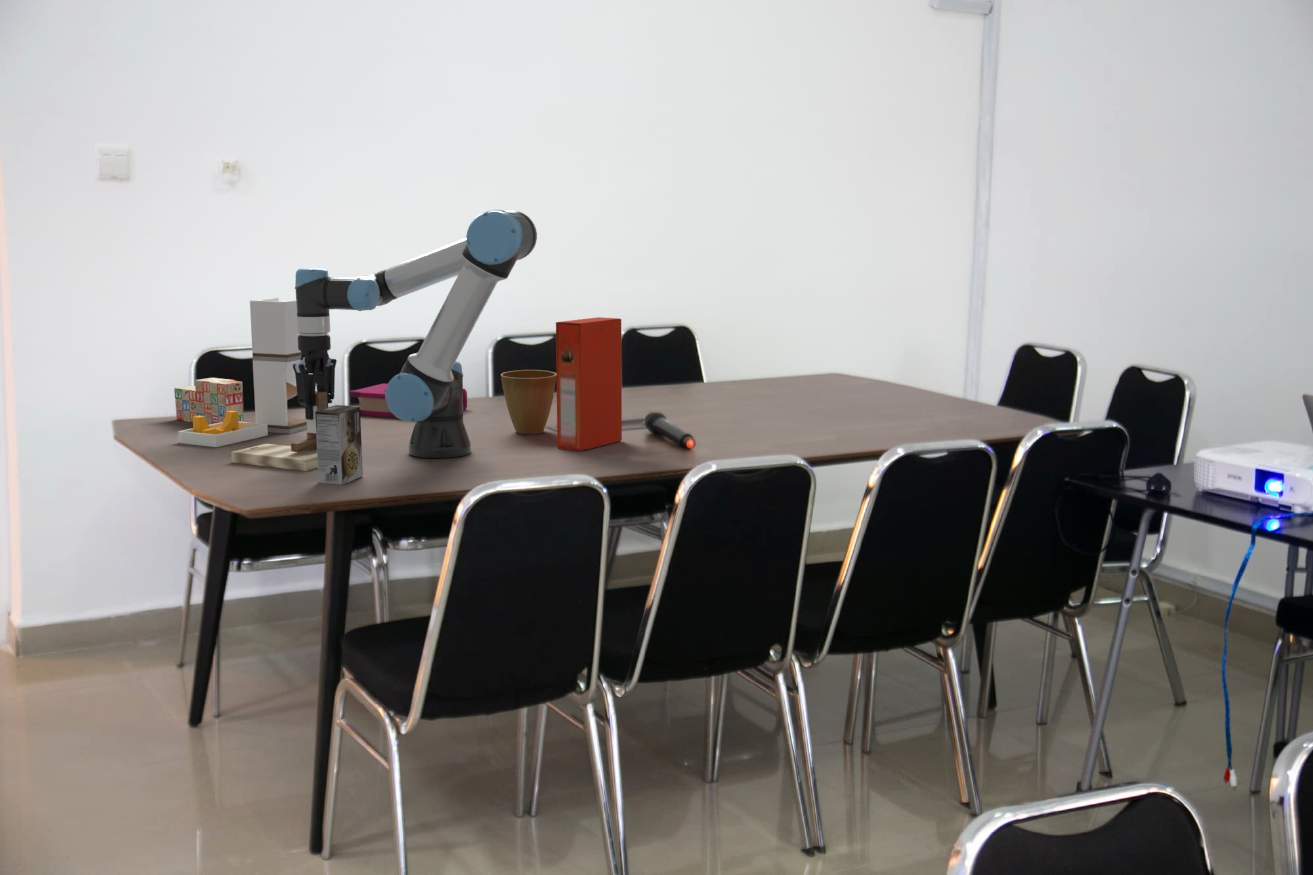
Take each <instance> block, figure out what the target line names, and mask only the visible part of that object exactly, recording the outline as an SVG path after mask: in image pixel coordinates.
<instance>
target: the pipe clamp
mask: <svg viewBox="0 0 1313 875" xmlns="http://www.w3.org/2000/svg"><path fill="white" fill-rule="evenodd" d="M192 425H193V429H194V432H195V433H205V434H214V435H217V434H221V433H226V432H230V431H235V430H239V421H238V411H226V414H225V419H224V421H223V423H222V424H221V425H220V426H219V427H217V428H215V429H214V428H211V427H210V426H209V425H208V424H207V421H206V417H205V416H193V422H192Z"/></svg>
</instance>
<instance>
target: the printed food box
mask: <svg viewBox="0 0 1313 875" xmlns="http://www.w3.org/2000/svg"><path fill="white" fill-rule="evenodd" d="M315 415H316V439H317V462H318V468H317V480H318V481H317V482H318V484H319V483H320V484H329V485H341V486H342V485H343V486H344V485H345V484H347V483H350V482H351V481H352V482H353V481H354V480H357V479H359V478H362V477H363V476H364V473H363V472H364V471H363V468H364V466H363V446H362V423H361V422H362V421H361V420H362V419H361V415H360V407H359V406H352V405H343V404H335V405H331V406H328V408H325V409H322V410H319V411H316V412H315Z"/></svg>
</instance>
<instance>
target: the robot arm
mask: <svg viewBox="0 0 1313 875" xmlns="http://www.w3.org/2000/svg"><path fill="white" fill-rule="evenodd" d="M465 236H466V237H465V238H462V239H460V240H458V241H454V242H452V243H450V244H447V245H445V246H444V245H443V246H442V247H440V248H437V249H434V250H431V251H429V252H427V253H424V254H421V255H418V256H416V257H414V258H411V259H409V260H408V259H407V260H406V261H404V262H401V263H398V264H396V265H393V266H391V267H388V268H386V269H383V270H380V271H377V272H374V273H372V274H370V275H363V276H354V277H353V276H352V277H334V276H329V271H328V269H326V268H320V267H319V268H318V267H311V268H310V267H307V268H299V269H297V270H296V272H295V283H294V284H295V285H294V290H295V300H296V304H297V328H298V333H300V335H298V349H299V350H300V351H301V353H302V355H301V359H300V360H301V361H300V362H299V363H298V364H293V369H294V372H295V377H296V386H297V395H296V396H297V403H298V404H299V405H301V406H304V410H305V412H304V414H305V415H304V416H305V418H304V419H307V429H306V434H307V433H316V415H315V412H316V411H317V406H314V405H315V391H319V392H327V404H328V405H329V404H332V403H333V400H334V399H335V388H336V387H335V386H336V385H335V381H336V380H335V378H336V376H335V375H336V365H337V362H338V361H337V359H336V358H331V357H330V356H329V355H330V354H329V351H330V350H331V348H332V346H331V335H330V334H329V333H330V332H331V320H330V319H331V318H330V317H331V316H330V310H341V311H342V310H345V311H358V312H362V311H373V310H375V309H376V308H377V307H381V306H384V305H387V304H389V303H390V302H393V301H394V300H397V299H398V298H399V299H400V298H402V297H404V296H406V295H409V294H413V293H415V292H418V291H421V290H422V289H425V288H428V287H430V286H431V287H432V286H434V285H436V284H439V283H441V282H444V281H447V280H449V279H452V278H455V277H456V279H455V281H454V282H453V284H452V287H451V288H450V290H449V293H448V294H447V295H446V298H445V300H444V302H443V304H442V306H441V308H440V309H439V311H438V313H437V315H436V317H435V319H434V321H433V322H432V325H431V327H430V329H429V330H428V333H427V334H426V336H425V338H424V340H423V342H422V344H421V345H420V348H419V349H418V352H416V353H415V352H414V353H412V354H409V355H408V357H407V358H406V361H405V363H404V364H403V366H402V368H401V370H400V372H399V373H398V374H395V375H394V376H393V377H392V378H391V379H390V380H389V382H388V383H387V384H388V385H387V387H386V391H385V398H386V402H387V405H388V407H389V409H390V411H391V412H392V413H393V414H394V415H395V416H396V417H395V418H397V419H399V420H401V421H404V422H408V423H414V426H413V429H412V433H411V437H410V439H409V443H408V455H410V456H413V457H418V458H424V459H425V458H426V459H428V458H429V459H449V458H456V457H461V456H467V455H470V453H471V452H472V449H471V448H472V444H471V440H470V438H469V434H468V432H467V428H466V425H465V423H464V411H463V389H464V385H463V380H464V379H463V377H464V374H463V365H462V364H461V363H460V361H457V359H458V358H459V355H460V354H461V352H462V350H463V349H464V346H465V345H466V342H467V341H468V338H469V337H470V335H471V333H472V331H473V329H474V327H475V326H476V324H477V321H478V320H479V318H480V316H481V314H482V312H483V310H484V308H485V306H486V305H487V303H488V301H489V299H490V297H491V295H492V293H493V291H494V290H495V288H496V287H497V286H496V285H498V283H499V282H501V281H505V280H507V279H508V277H509V276H510V274H511V271H513V268H514V267H515V265H516V263H517V261H520V260H523V259H524V258H526V257H528V256H529V255H530V254H531V253H532V251H533V250H534V248H535V247H536V244H537V240H538V232H537V228H536V225H535V223H534V222H533V220H532V219H531V218H530V216H529V215H527V214H525V213H524V212H522V211H519V210H509V209H508V210H502V209H493V210H488V211H486V212H483V213H481V214H479V215H477V216H476V217H475V218H474V219H473V220H472V221H471V222H470V224H469V226H468V228H467V231H466V235H465ZM309 400H310V401H309Z"/></svg>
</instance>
